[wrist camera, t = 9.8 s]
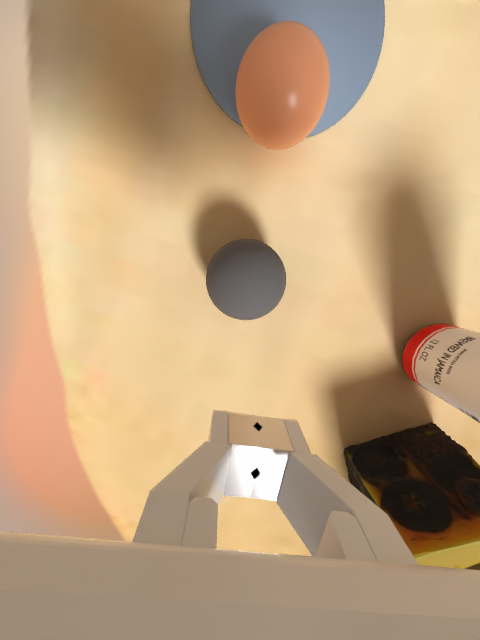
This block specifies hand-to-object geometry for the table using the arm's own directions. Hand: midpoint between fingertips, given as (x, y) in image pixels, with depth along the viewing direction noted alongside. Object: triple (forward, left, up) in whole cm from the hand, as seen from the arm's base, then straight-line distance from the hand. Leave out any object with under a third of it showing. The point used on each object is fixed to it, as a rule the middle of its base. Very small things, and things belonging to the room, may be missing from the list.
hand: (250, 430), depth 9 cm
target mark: (-23, 0, -14) cm, 27 cm away
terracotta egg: (-17, 0, -11) cm, 20 cm away
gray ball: (-5, 0, -11) cm, 12 cm away
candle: (+13, +20, -14) cm, 28 cm away
